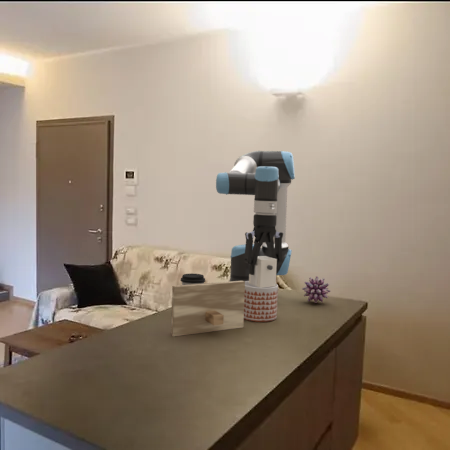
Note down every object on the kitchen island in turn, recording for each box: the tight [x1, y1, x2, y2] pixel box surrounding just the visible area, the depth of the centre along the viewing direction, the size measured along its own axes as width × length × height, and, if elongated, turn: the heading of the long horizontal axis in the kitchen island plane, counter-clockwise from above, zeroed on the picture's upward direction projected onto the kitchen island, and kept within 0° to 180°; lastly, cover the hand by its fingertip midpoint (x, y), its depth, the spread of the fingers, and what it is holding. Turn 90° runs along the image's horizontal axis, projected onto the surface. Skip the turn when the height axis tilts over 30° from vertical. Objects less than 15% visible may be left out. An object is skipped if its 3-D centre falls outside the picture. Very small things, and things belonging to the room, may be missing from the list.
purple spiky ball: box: [301, 275, 331, 304], centre depth 196 cm, size 12×12×12 cm
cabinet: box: [249, 256, 277, 288], centre depth 150 cm, size 8×6×9 cm
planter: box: [244, 281, 279, 323], centre depth 172 cm, size 14×14×13 cm
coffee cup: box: [180, 273, 206, 285], centre depth 171 cm, size 9×9×15 cm
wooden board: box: [170, 281, 245, 337], centre depth 150 cm, size 8×26×16 cm, turn 118°
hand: (262, 283), depth 151 cm, fingers closed on cabinet, 6 cm apart
